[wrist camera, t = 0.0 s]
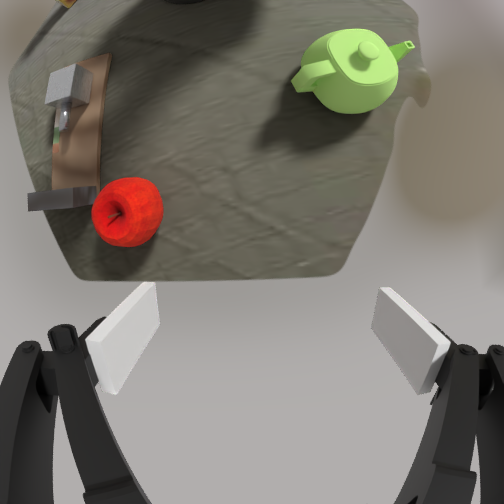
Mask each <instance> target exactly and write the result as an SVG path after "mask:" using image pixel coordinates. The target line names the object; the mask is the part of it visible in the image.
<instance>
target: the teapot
mask: <svg viewBox="0 0 504 504" xmlns="http://www.w3.org/2000/svg"><path fill="white" fill-rule="evenodd" d="M413 48H415V47H414V45H413V44H412V42H411V41H406V42H403V43H400V44H397V45H394V46H391V47H387V45H386V44H385V42H384V41H383V40H382V39H381V38H380V37H379V36H378V35H377V34H375V33H374V32H372V31H369V30H365V29H346V30H340V31H336V32H332V33H329V34H327V35H325V36H323V37H321V38H319V39H318V40H316V41H315V42H314V43H312V44H311V45H310V46H309V47H308V48H307V50H306V51H305V52H304V54H303V56H302V59H301V69H300V71H299V72H298V73H297V74H296V75H295V76H294V77H293V79H292V80H291V82H292V84H293V86H294V88H295V90H296V91H297V92H309V91H313V93H314V94H315V95H316V97H317V98H318V99H319V100H320V101H321V103H322V104H323V105H325V106H326V107H327V108H329V109H330V110H332V111H335V112H338V113H344V114H357V113H364V112H367V111H370V110H372V109H375V108H376V107H378V106H379V105H381V104H382V103H383V102H384V101H385V100H386V99H387V98H388V97H389V96H390V95H391V94H392V92H393V91H394V89H395V87H396V84H397V79H398V66H397V62H399V61H400V60H401V59H402V58H403V57H404V56H405V55H407V54H408V53H409V52H410V51H411V50H412V49H413Z"/></svg>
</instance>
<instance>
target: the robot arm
mask: <svg viewBox="0 0 504 504" xmlns="http://www.w3.org/2000/svg"><path fill="white" fill-rule="evenodd" d="M165 1H167V2H170V3H176V4H188V3H195V2H200V1H203V0H165ZM159 325H160V321H159V313H158V305H157V295H156V285H155V283H154V282H143V283H142V284H141V285H139V286H138V287H137V288H136V289H135V290H134V291H133V292H132V293H131V294H130V295H129V296H128V297H127V298H126V299H125V300H124V301H123V302H122V303H121V304H120V305H119V306H118V307H117V308H116V309H115V310H114V311H113V312H112V313H111V314H110V315H109V316H108V317H102V318H100V319H98V320H96V321H95V322H94V323H93V324H92V325H91V327H89V328H88V329H87V331H85V332H84V333H83V334H82V335H81V336H80V337H79V338H78V335H77V332H76V328H75V327H74V326H73V325H70V324H61V325H58V326H55V327H53V328H51V329H50V330H49V331H48V338H49V341H50V344H51V347H52V350H53V351H42V349H41V347H40V344H39V343H38V342H36V341H25V342H23V343H21V344H20V345H19V346H18V347H17V348H16V350H15V352H14V354H13V357H12V359H11V361H10V363H9V366H8V368H7V370H6V373H5V375H4V377H3V380H2V383H1V385H0V504H54V500H53V471H52V470H53V469H52V468H53V442H54V428H55V418H56V409H57V402H58V396H59V399H60V404H61V409H62V414H63V419H64V423H65V427H66V431H67V435H68V439H69V442H70V446H71V449H72V453H73V456H74V459H75V462H76V465H77V468H78V471H79V474H80V477H81V480H82V482H83V485H84V488H85V493H83V498H84V501H85V504H152V503H151V502H150V500H149V499H148V498H147V496H146V494H145V493H144V491H143V489H142V488H141V486H140V484H139V483H138V481H137V479H136V477H135V476H134V474H133V472H132V470H131V469H130V467H129V465H128V463H127V461H126V459H125V457H124V455H123V453H122V451H121V449H120V447H119V445H118V443H117V441H116V439H115V437H114V435H113V432H112V430H111V428H110V426H109V423H108V421H107V418H106V416H105V413H104V411H103V408H102V406H101V403H100V400H99V398H98V395H97V392H96V390H95V386H96V384H97V383H98V382H99V384H100V387H101V390H102V392H107V393H110V394H114V395H117V394H118V392H119V390H120V389H121V387H122V385H123V384H124V382H125V380H126V379H127V377H128V375H129V374H130V372H131V370H132V369H133V367H134V365H135V364H136V362H137V361H138V359H139V357H140V356H141V354H142V352H143V351H144V349H145V347H146V346H147V344H148V343H149V341H150V339H151V338H152V336H153V334H154V333H155V331H156V330H157V328H158V327H159ZM371 329H372V330H373V332H374V333H375V334H376V335H377V337H378V338H379V340H380V341H381V343H382V344H383V345H384V347H385V348H386V350H387V351H388V352H389V354H390V355H391V357H392V358H393V359H394V361H395V362H396V364H397V365H398V367H399V368H400V370H401V371H402V372H403V374H404V375H405V377H406V378H407V380H408V381H409V383H410V384H411V386H412V387H413V389H414V390H415V392H416V393H417V395H420V394H424V393H428V392H430V391H431V389H432V387H433V385H434V383H435V382H436V383H437V385H438V386H439V387H438V389H437V391H436V393H435V395H434V397H433V399H432V401H431V403H430V405H432V404H433V405H432V409H431V412H430V416H429V419H428V423H427V426H426V429H425V432H424V435H423V438H422V441H421V444H420V446H419V449H418V452H417V454H416V457H415V459H414V462H413V464H412V467H411V469H410V472H409V474H408V476H407V478H406V481H405V483H404V485H403V487H402V489H401V492H400V493H399V495H398V497H397V499H396V501H395V503H394V504H471V500H472V496H473V492H474V488H475V484H476V477H477V474H476V472H473V471H470V466H471V461H472V456H473V450H474V443H475V436H476V437H477V445H478V453H479V465H480V487H481V503H480V504H504V347H503V346H501V345H491V346H490V347H489V349H488V351H487V353H486V354H478V352H477V350H476V349H475V348H473V347H472V346H469V345H465V344H460V345H457V344H456V343H455V342H454V341H452V339H450V338H449V337H448V336H447V335H445V333H444V332H443V331H441V329H440V328H438V327H437V326H436V325H435V324H433V323H431V322H429V321H427V320H426V319H425V318H424V317H423V316H422V315H421V314H420V313H419V312H417V311H416V310H415V309H414V308H413V307H412V306H411V305H410V304H408V303H407V302H406V301H405V300H404V299H403V298H402V297H400V296H399V295H398V294H397V293H396V292H394V291H393V290H392V289H391V288H390V287H382V288H379V291H378V296H377V302H376V307H375V312H374V317H373V321H372V325H371ZM492 389H493V390H492Z"/></svg>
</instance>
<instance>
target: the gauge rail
mask: <svg viewBox="0 0 504 504" xmlns="http://www.w3.org/2000/svg"><path fill="white" fill-rule="evenodd" d="M111 58H112V54H110V53H106V54H103V55H99V56H96V57H93V58H90V59H87V60H83V61H81V62H78V63H75V64H78V65H80V66H82V67H83V68H85V69H87V70H88V71H90V72H92V73H94V74H93V80H92V86H91V92H90V100H89V103H88V104H84V105H80V106H76V107H73V108H71V116H70V126H69V131H67V132H59V131H58V130H59V120H60V112H61V109H59V108H57V110H56V117H55V127H54V138H53V153H52V190H49V191H41V192H34V193H28V211H39V210H51V209H65V208H75V207H81V206H86V205H91V204H94V201H95V199H96V198H97V196H98V194H99V193H100V155H101V136H102V123H103V112H104V103H105V95H106V88H107V81H108V75H109V69H110V63H111ZM72 65H73V64H72ZM69 66H70V65H69ZM67 67H68V66H67ZM64 68H65V67H64Z"/></svg>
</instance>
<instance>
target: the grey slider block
mask: <svg viewBox="0 0 504 504" xmlns="http://www.w3.org/2000/svg"><path fill="white" fill-rule="evenodd" d="M93 74H94V73H92V72H90V71H88V70H87V69H85V68H83V67H82V66H80V65H78V64H73V65H70V66H68V67H65V68H62V69H60V70H57V71H55V72H52V73H50V78H49V83H48V88H47V94H46V99H45V105H49V106H52V107H56V108H59V109H61V112H60V120H59V130H58V131H59V132H67V131H69V126H70V116H71V108H73V107H76V106H80V105H84V104H88V103H89V100H90V92H91V86H92V80H93Z"/></svg>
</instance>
